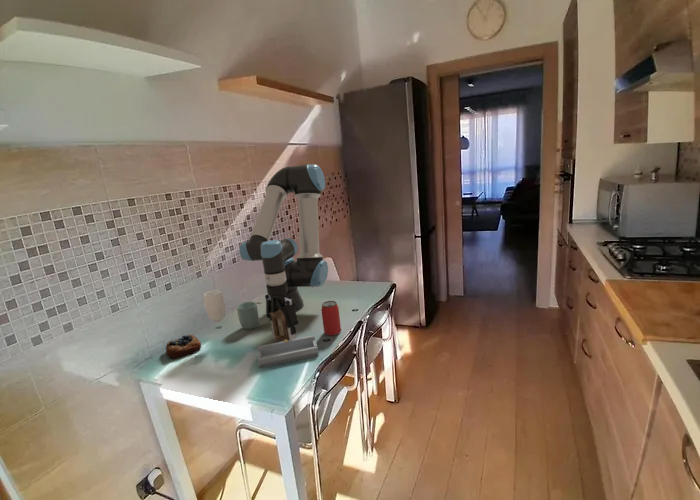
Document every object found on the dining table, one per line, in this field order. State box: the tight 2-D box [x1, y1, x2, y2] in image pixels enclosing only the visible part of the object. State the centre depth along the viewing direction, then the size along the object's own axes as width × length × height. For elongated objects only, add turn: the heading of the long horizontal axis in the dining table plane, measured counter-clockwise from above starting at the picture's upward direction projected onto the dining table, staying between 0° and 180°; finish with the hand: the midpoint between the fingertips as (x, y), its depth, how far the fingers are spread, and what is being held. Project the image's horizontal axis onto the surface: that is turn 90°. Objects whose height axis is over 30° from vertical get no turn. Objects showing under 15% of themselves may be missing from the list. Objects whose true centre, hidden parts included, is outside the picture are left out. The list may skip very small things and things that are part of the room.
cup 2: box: [236, 301, 260, 330], centre depth 154 cm, size 8×8×10 cm
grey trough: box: [256, 334, 320, 369], centre depth 128 cm, size 20×7×5 cm, turn 104°
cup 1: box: [203, 289, 226, 323], centre depth 142 cm, size 7×7×21 cm
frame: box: [271, 310, 289, 342], centre depth 140 cm, size 8×4×11 cm, turn 49°
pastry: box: [165, 334, 202, 361], centre depth 140 cm, size 11×12×6 cm
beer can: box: [321, 300, 342, 337], centre depth 142 cm, size 7×7×12 cm
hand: (284, 338), depth 141 cm, fingers open, 9 cm apart
